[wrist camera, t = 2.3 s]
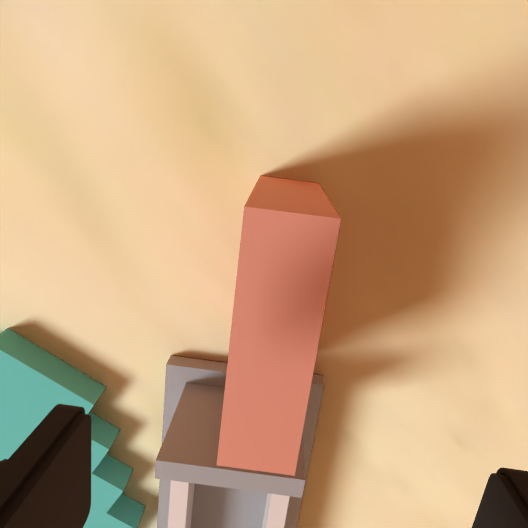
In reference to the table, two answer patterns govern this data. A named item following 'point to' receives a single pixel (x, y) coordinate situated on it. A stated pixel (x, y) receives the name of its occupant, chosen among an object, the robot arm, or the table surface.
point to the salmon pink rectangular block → (276, 323)
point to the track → (205, 458)
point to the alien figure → (37, 408)
